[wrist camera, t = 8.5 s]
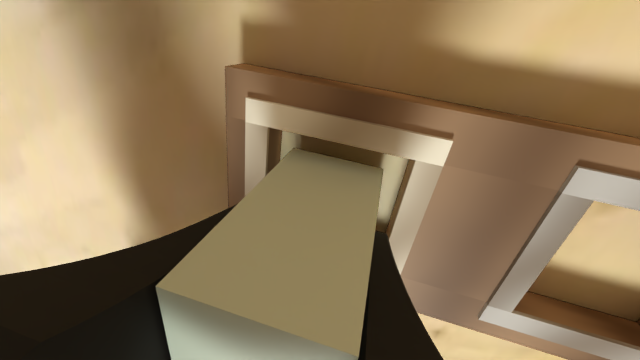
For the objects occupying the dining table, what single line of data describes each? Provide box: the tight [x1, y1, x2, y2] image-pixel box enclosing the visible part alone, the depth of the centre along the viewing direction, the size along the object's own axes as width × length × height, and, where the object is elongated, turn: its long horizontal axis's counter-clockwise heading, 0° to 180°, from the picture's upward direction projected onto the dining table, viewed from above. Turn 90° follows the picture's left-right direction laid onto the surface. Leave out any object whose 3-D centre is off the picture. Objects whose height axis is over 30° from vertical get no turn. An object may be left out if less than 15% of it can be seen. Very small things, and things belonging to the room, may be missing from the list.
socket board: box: [225, 64, 640, 360], centre depth 12 cm, size 22×10×2 cm, turn 82°
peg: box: [155, 148, 383, 360], centre depth 9 cm, size 4×4×8 cm
